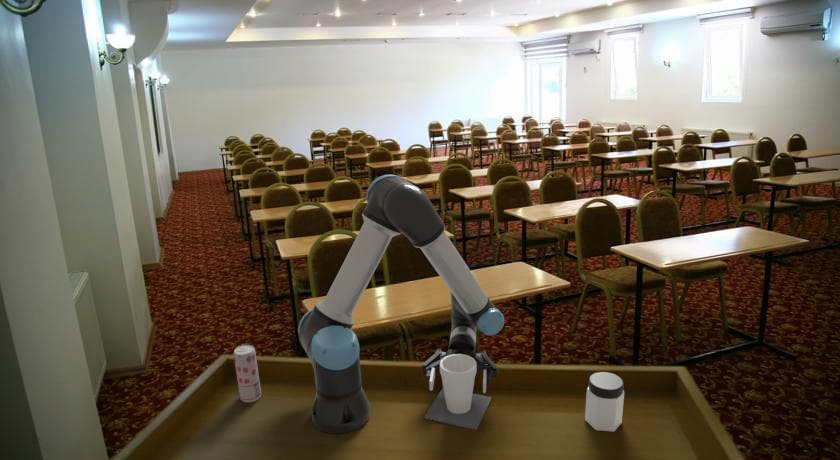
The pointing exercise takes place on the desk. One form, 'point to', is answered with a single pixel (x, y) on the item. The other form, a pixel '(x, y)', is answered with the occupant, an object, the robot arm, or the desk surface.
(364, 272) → the robot arm
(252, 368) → the beverage can
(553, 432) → the desk surface
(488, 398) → the charcoal mat
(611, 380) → the jar
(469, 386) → the foam cup
